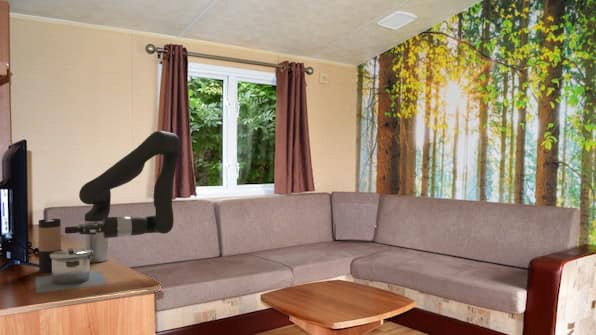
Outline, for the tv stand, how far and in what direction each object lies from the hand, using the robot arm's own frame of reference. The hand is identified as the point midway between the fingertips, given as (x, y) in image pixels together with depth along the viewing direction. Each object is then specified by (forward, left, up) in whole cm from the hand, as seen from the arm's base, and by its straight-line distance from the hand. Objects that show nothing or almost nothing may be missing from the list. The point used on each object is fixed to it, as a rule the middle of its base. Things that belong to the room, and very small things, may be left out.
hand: (65, 230), depth 165 cm
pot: (0, +2, -18) cm, 18 cm away
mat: (0, +2, -19) cm, 19 cm away
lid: (0, +2, -9) cm, 10 cm away
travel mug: (-19, -4, -19) cm, 27 cm away
